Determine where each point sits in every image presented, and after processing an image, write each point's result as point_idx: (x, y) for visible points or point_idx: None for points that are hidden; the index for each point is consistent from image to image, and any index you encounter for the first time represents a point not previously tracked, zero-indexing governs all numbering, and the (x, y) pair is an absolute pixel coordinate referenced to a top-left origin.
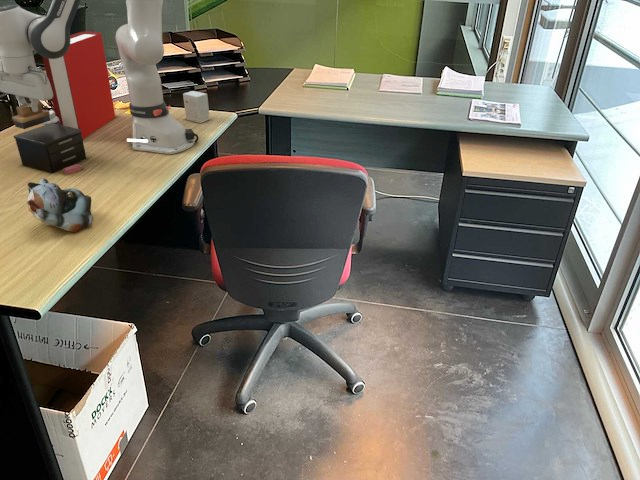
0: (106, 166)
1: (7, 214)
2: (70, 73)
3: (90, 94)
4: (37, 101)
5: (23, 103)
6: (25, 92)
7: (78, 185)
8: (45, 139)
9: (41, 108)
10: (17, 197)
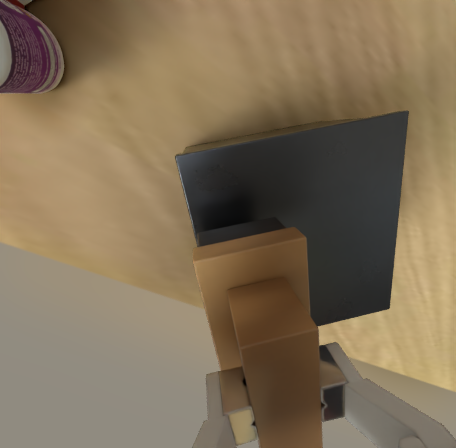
0: (418, 119)
1: (396, 369)
2: None
3: None
4: (422, 422)
5: (233, 439)
6: None
7: (429, 241)
8: (362, 290)
9: (295, 298)
10: (359, 341)
